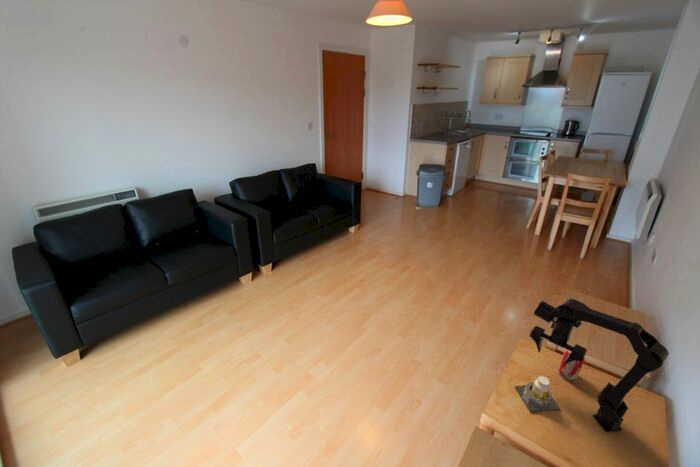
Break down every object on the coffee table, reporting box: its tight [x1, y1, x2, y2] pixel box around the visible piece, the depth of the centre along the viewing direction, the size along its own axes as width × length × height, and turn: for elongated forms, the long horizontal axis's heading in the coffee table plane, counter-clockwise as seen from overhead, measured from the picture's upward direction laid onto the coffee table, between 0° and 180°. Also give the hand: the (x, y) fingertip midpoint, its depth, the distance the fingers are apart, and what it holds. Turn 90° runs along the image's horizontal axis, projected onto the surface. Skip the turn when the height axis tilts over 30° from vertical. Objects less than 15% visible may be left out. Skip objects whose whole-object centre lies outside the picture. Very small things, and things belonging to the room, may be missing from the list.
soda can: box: [557, 349, 586, 381], centre depth 139 cm, size 7×7×13 cm
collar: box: [514, 381, 561, 413], centre depth 130 cm, size 11×12×4 cm
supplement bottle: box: [531, 375, 551, 399], centre depth 128 cm, size 5×5×10 cm
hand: (551, 358), depth 133 cm, fingers open, 9 cm apart
